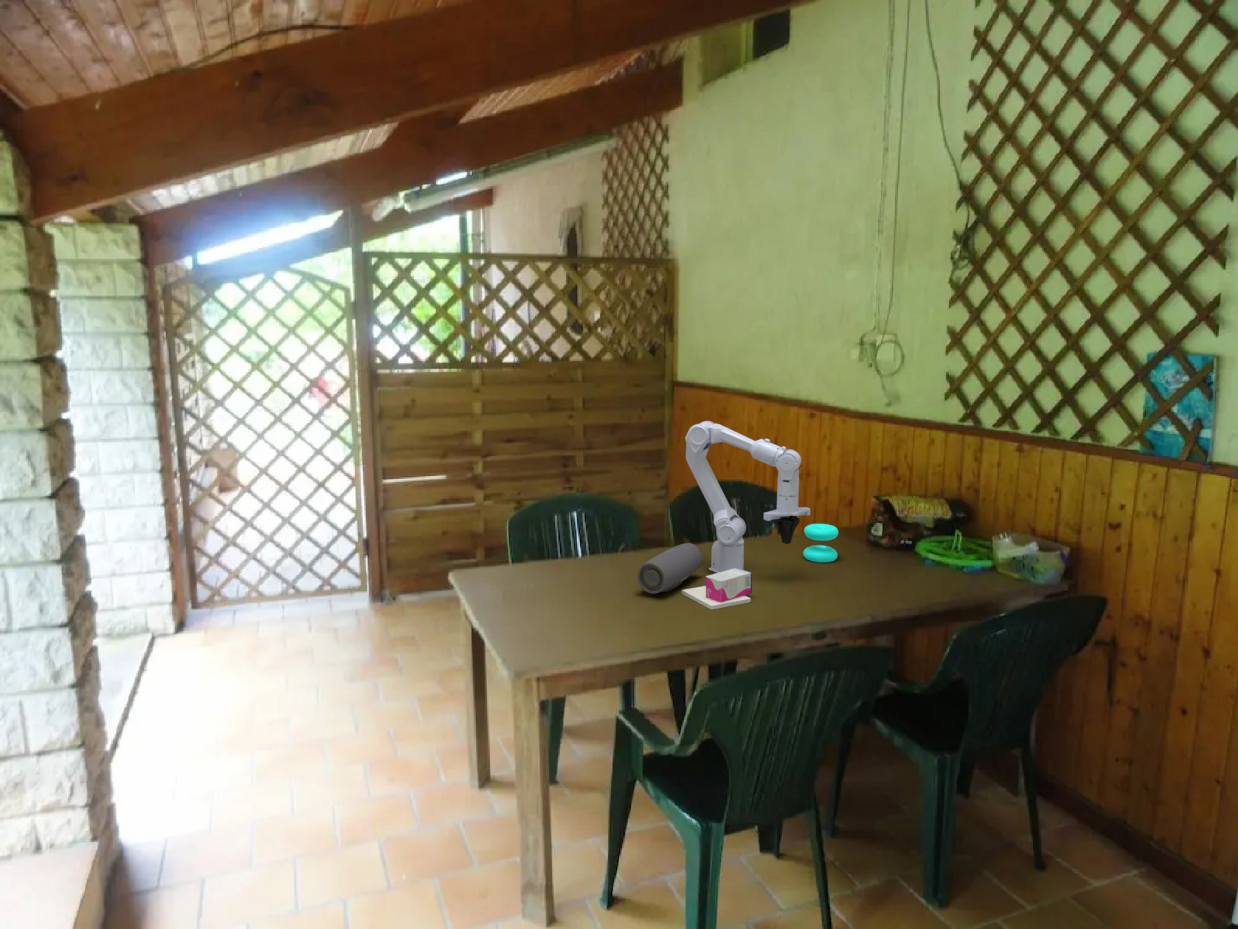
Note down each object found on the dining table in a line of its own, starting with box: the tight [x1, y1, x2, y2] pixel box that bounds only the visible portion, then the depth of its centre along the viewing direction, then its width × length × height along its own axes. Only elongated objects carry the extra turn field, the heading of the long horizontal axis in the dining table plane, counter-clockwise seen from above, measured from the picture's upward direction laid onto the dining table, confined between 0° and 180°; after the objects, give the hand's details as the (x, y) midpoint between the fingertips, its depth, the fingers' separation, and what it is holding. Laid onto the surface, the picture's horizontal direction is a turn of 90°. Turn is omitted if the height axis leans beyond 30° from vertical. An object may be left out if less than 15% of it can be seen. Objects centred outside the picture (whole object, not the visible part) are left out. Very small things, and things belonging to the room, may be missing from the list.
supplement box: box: [705, 568, 753, 602], centre depth 212 cm, size 6×6×12 cm
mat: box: [681, 585, 752, 610], centre depth 214 cm, size 14×12×1 cm
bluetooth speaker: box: [637, 542, 704, 594], centre depth 223 cm, size 23×9×10 cm, turn 149°
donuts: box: [803, 523, 839, 564], centre depth 248 cm, size 10×10×10 cm
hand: (786, 543), depth 227 cm, fingers closed
